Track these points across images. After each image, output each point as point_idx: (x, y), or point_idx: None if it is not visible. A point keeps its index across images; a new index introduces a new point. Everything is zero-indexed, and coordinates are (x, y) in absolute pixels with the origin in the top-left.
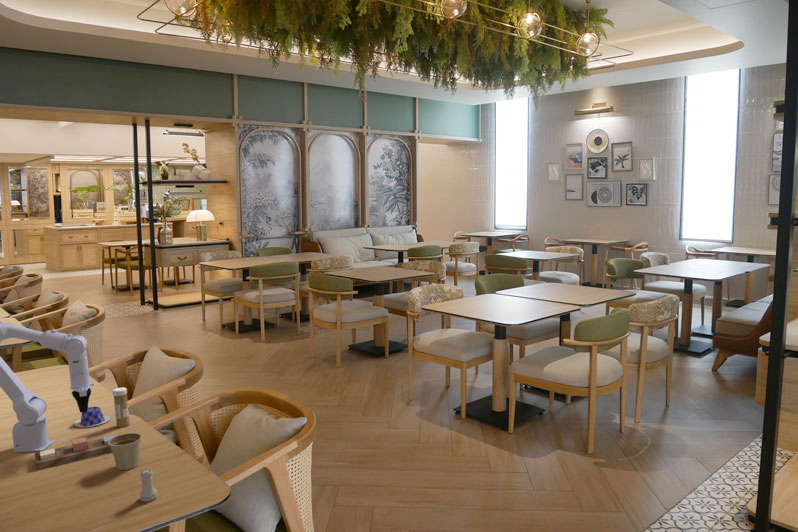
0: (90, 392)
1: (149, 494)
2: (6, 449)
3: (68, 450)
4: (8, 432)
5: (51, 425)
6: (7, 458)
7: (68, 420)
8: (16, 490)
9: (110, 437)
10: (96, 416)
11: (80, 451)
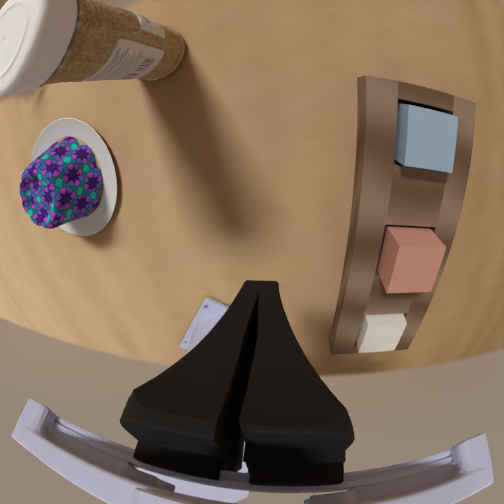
0: (346, 428)
1: None
2: None
3: None
4: (101, 349)
5: (74, 283)
6: None
7: (49, 244)
8: (458, 351)
9: (426, 137)
10: (71, 170)
11: None
